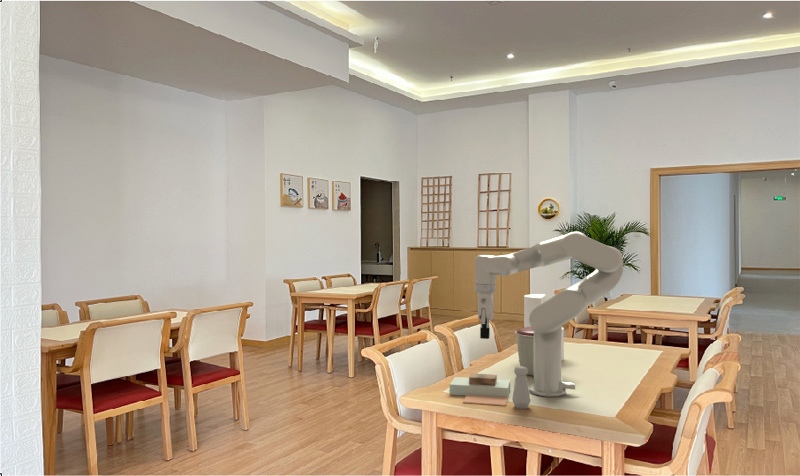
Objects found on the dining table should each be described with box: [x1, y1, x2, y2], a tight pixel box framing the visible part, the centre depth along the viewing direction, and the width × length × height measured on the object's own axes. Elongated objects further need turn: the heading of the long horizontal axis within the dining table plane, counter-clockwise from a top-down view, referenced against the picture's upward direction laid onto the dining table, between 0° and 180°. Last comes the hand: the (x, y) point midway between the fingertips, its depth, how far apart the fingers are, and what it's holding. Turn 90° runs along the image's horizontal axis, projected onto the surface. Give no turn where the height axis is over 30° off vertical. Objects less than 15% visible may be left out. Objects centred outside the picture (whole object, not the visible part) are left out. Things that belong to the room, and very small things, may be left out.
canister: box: [514, 327, 534, 377], centre depth 229 cm, size 18×18×21 cm
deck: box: [449, 376, 511, 399], centre depth 202 cm, size 20×11×4 cm, turn 75°
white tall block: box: [523, 293, 565, 362], centre depth 257 cm, size 17×17×28 cm
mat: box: [462, 395, 509, 407], centre depth 192 cm, size 14×9×1 cm, turn 75°
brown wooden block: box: [468, 373, 498, 386], centre depth 202 cm, size 9×6×2 cm, turn 75°
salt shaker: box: [512, 365, 532, 410], centre depth 184 cm, size 6×6×13 cm
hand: (484, 338), depth 210 cm, fingers closed
